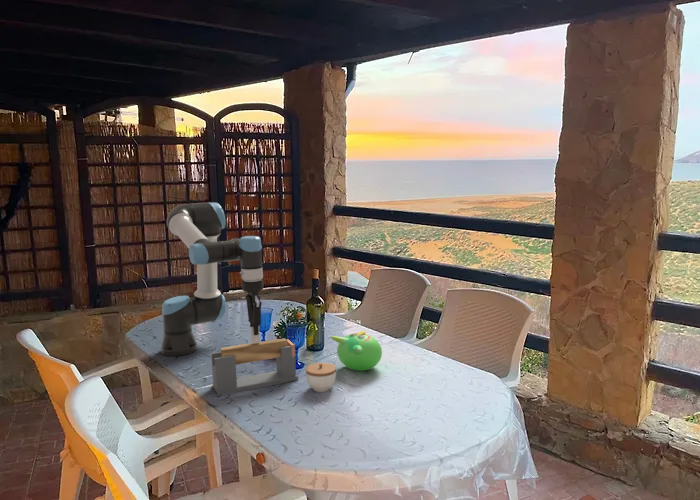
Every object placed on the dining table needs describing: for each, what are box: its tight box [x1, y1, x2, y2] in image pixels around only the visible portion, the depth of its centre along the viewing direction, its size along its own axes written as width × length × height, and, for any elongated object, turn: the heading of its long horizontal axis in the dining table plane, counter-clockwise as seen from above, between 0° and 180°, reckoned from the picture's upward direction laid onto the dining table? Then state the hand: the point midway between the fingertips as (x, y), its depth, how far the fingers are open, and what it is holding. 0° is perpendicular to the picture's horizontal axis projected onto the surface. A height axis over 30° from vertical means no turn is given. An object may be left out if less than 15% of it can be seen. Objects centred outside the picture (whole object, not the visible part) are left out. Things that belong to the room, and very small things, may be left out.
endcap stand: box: [210, 339, 299, 396], centre depth 202 cm, size 9×30×14 cm, turn 115°
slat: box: [220, 338, 288, 366], centre depth 201 cm, size 3×24×6 cm, turn 114°
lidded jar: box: [305, 362, 337, 393], centre depth 196 cm, size 11×11×9 cm
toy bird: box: [330, 330, 383, 372], centre depth 214 cm, size 18×17×15 cm
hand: (255, 342), depth 201 cm, fingers closed
